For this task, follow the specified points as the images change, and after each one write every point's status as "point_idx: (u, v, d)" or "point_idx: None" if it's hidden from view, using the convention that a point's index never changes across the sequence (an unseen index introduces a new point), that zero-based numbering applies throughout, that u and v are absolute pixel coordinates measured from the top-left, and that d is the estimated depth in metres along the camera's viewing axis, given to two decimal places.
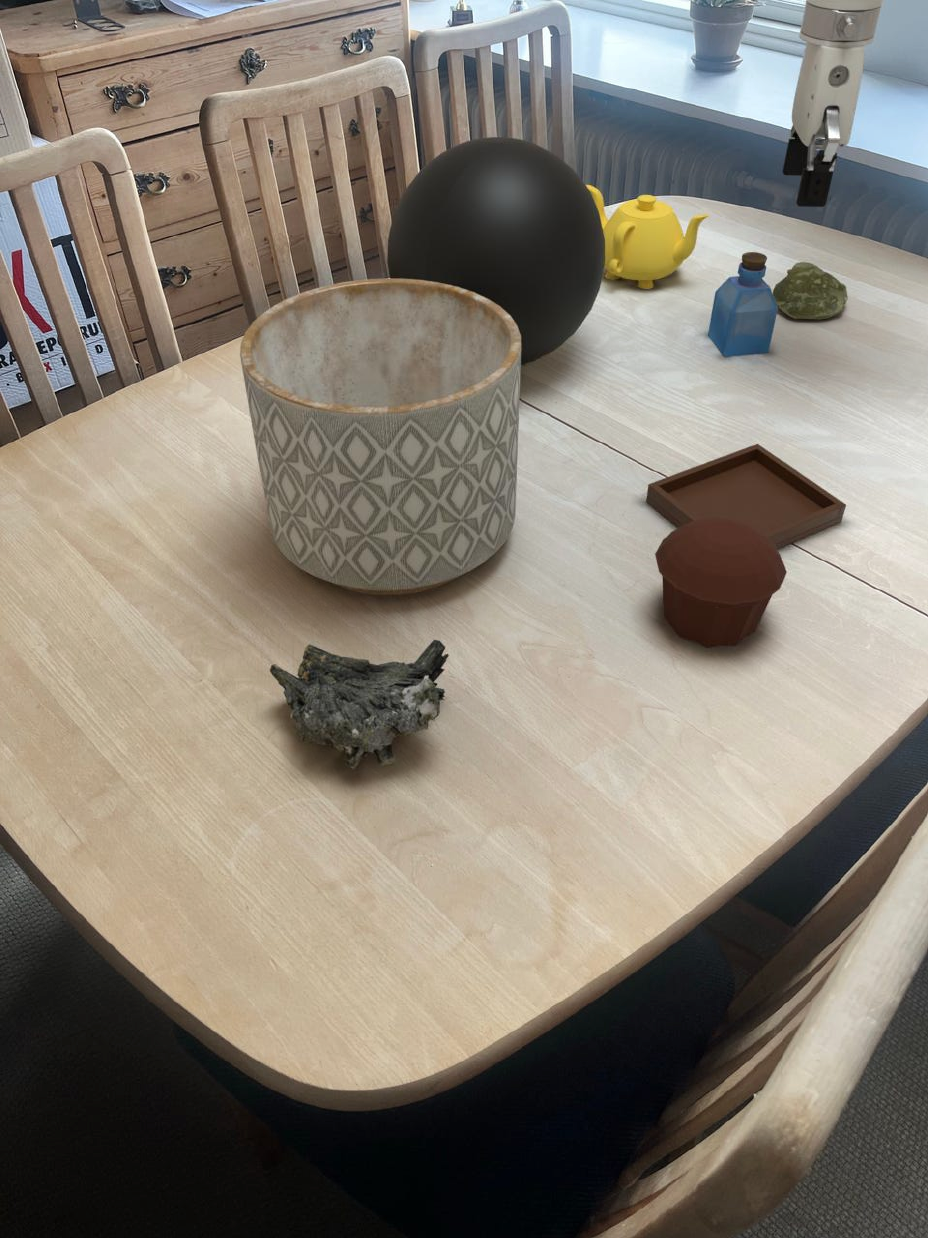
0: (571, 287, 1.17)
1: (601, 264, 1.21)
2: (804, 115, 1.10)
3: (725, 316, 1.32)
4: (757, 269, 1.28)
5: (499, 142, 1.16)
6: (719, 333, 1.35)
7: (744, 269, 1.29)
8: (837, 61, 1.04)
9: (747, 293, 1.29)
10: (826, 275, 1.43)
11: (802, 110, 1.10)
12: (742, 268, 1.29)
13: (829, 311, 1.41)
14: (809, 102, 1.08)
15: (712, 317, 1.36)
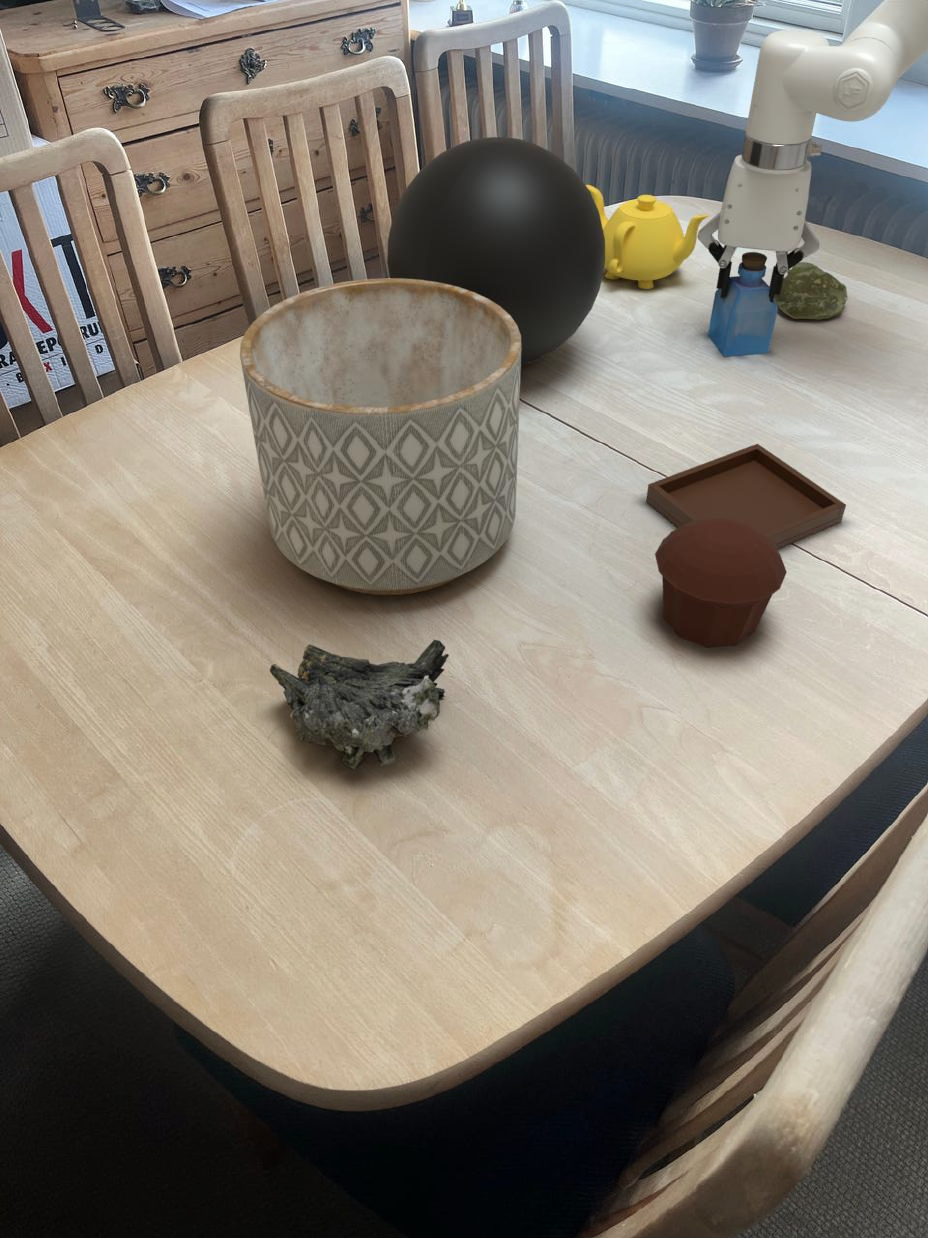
0: (571, 287, 1.17)
1: (601, 264, 1.21)
2: (785, 229, 1.23)
3: (725, 316, 1.32)
4: (757, 269, 1.28)
5: (499, 142, 1.16)
6: (719, 333, 1.35)
7: (744, 269, 1.29)
8: (810, 177, 1.20)
9: (747, 293, 1.29)
10: (826, 275, 1.43)
11: (776, 227, 1.23)
12: (742, 268, 1.29)
13: (829, 311, 1.41)
14: (793, 217, 1.22)
15: (712, 317, 1.36)
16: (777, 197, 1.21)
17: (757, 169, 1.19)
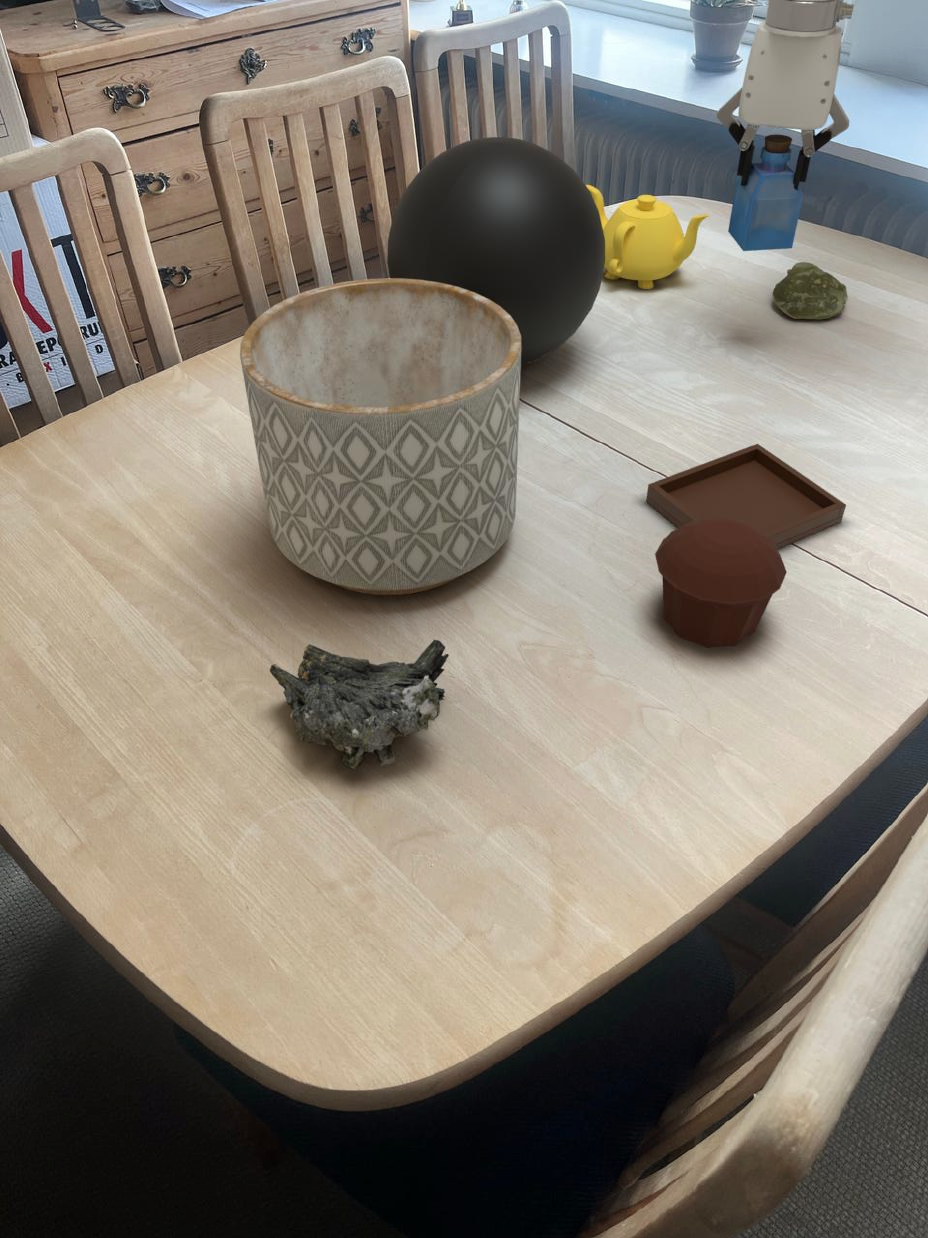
0: (571, 287, 1.17)
1: (601, 264, 1.21)
2: (812, 103, 1.13)
3: (745, 205, 1.22)
4: (781, 151, 1.19)
5: (499, 142, 1.16)
6: (739, 226, 1.25)
7: (767, 152, 1.19)
8: (839, 43, 1.10)
9: (769, 178, 1.20)
10: (826, 275, 1.43)
11: (802, 101, 1.13)
12: (765, 151, 1.19)
13: (829, 311, 1.41)
14: (820, 89, 1.12)
15: (733, 210, 1.27)
16: (803, 65, 1.11)
17: (781, 31, 1.09)
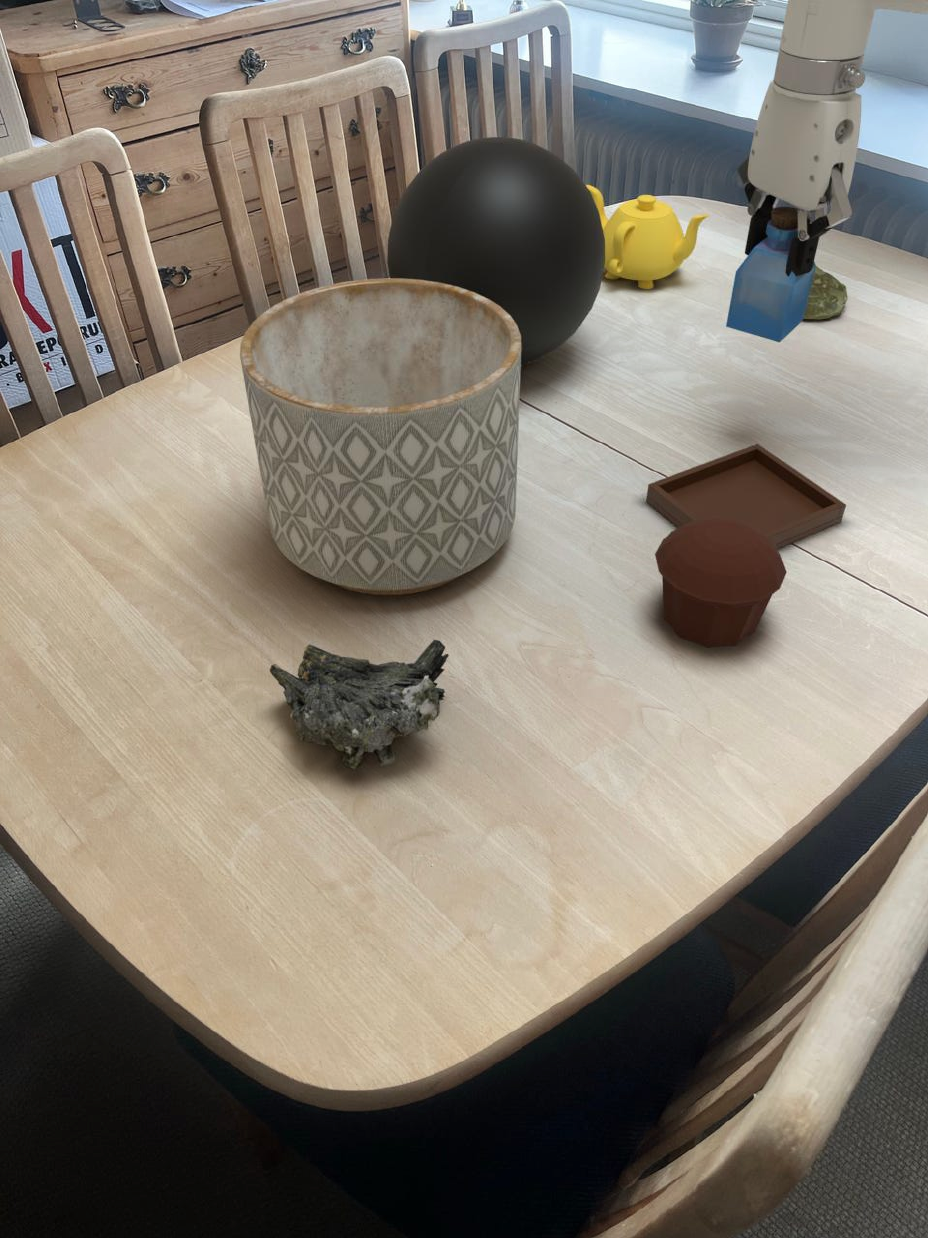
0: (571, 287, 1.17)
1: (601, 264, 1.21)
2: (802, 178, 0.96)
3: None
4: (780, 226, 1.02)
5: (499, 142, 1.16)
6: None
7: (769, 223, 1.03)
8: (842, 115, 0.92)
9: (761, 253, 1.04)
10: (826, 275, 1.43)
11: (793, 172, 0.97)
12: (769, 222, 1.03)
13: (829, 311, 1.41)
14: (809, 163, 0.95)
15: None
16: (795, 131, 0.94)
17: (774, 86, 0.94)
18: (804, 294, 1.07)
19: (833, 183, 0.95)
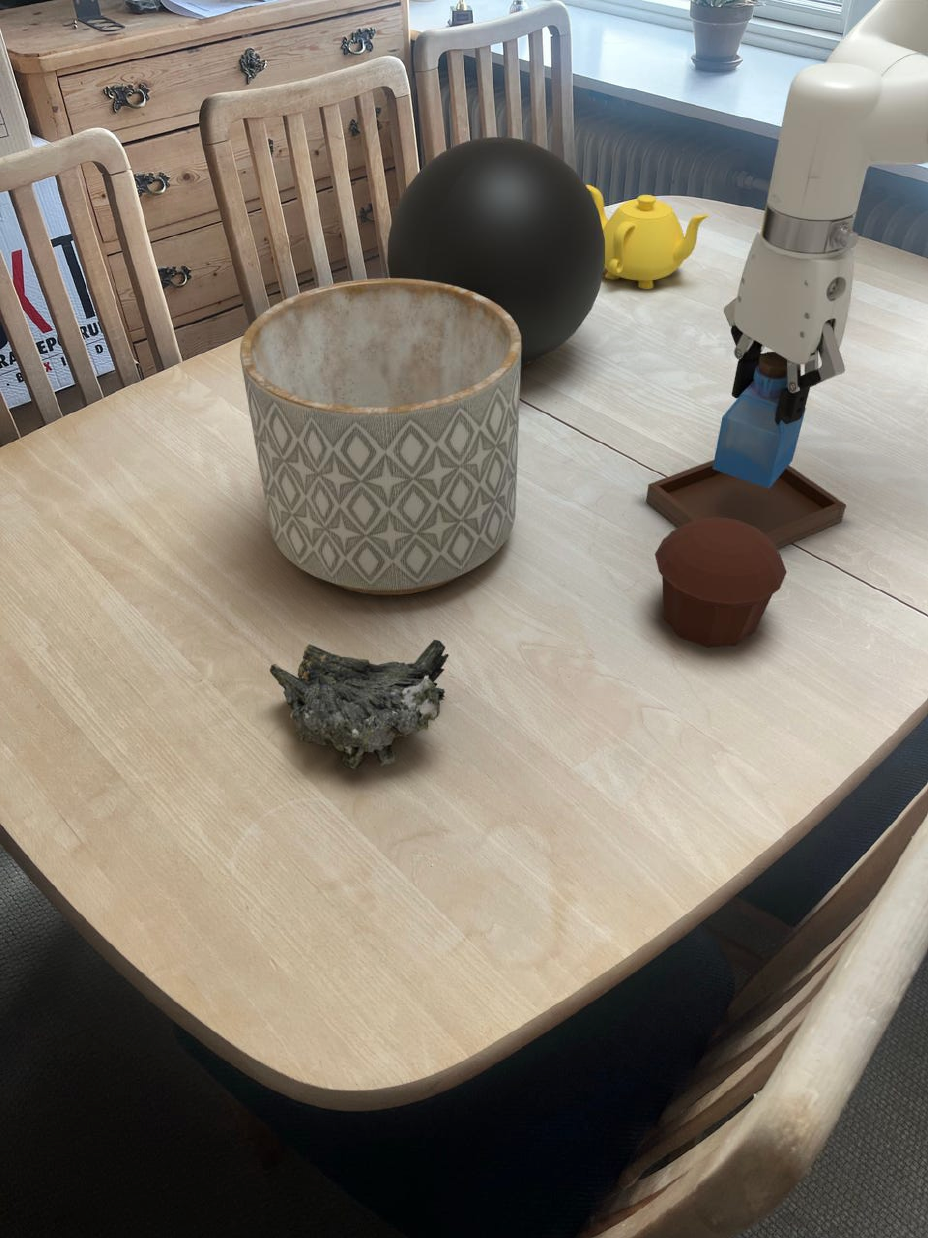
0: (571, 287, 1.17)
1: (601, 264, 1.21)
2: (791, 332, 0.91)
3: None
4: (768, 375, 0.97)
5: (499, 142, 1.16)
6: None
7: (757, 370, 0.98)
8: (834, 274, 0.87)
9: (749, 400, 0.99)
10: None
11: (782, 326, 0.92)
12: (757, 368, 0.98)
13: None
14: (800, 320, 0.90)
15: None
16: (784, 286, 0.89)
17: (761, 239, 0.89)
18: (794, 437, 1.02)
19: (825, 339, 0.90)
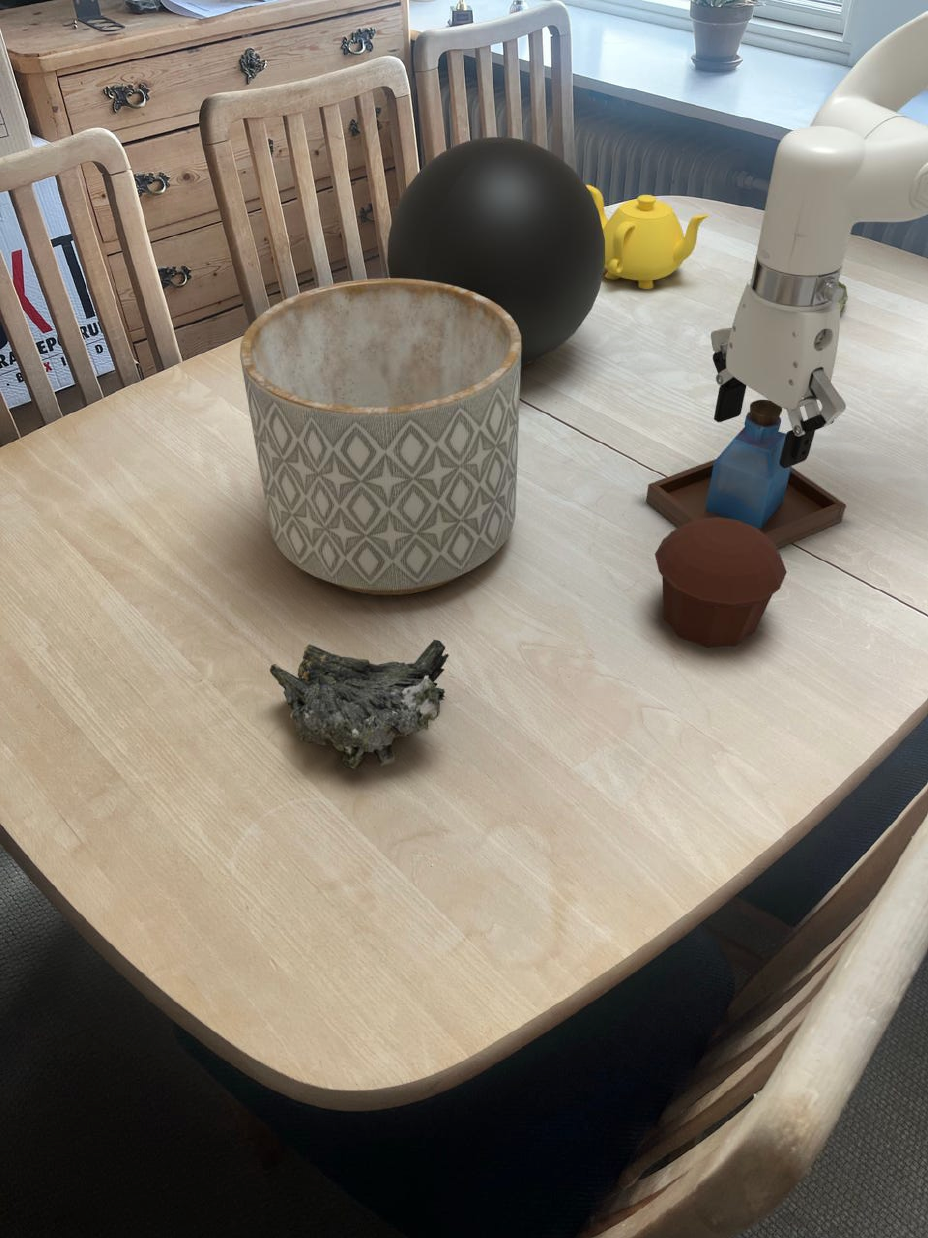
0: (571, 287, 1.17)
1: (601, 264, 1.21)
2: (780, 380, 0.94)
3: None
4: (758, 422, 1.00)
5: (499, 142, 1.16)
6: None
7: (748, 417, 1.02)
8: (821, 325, 0.90)
9: (740, 446, 1.02)
10: None
11: (772, 373, 0.95)
12: (748, 415, 1.02)
13: None
14: (788, 368, 0.93)
15: None
16: (773, 335, 0.93)
17: (751, 291, 0.92)
18: (784, 480, 1.06)
19: (818, 381, 0.93)
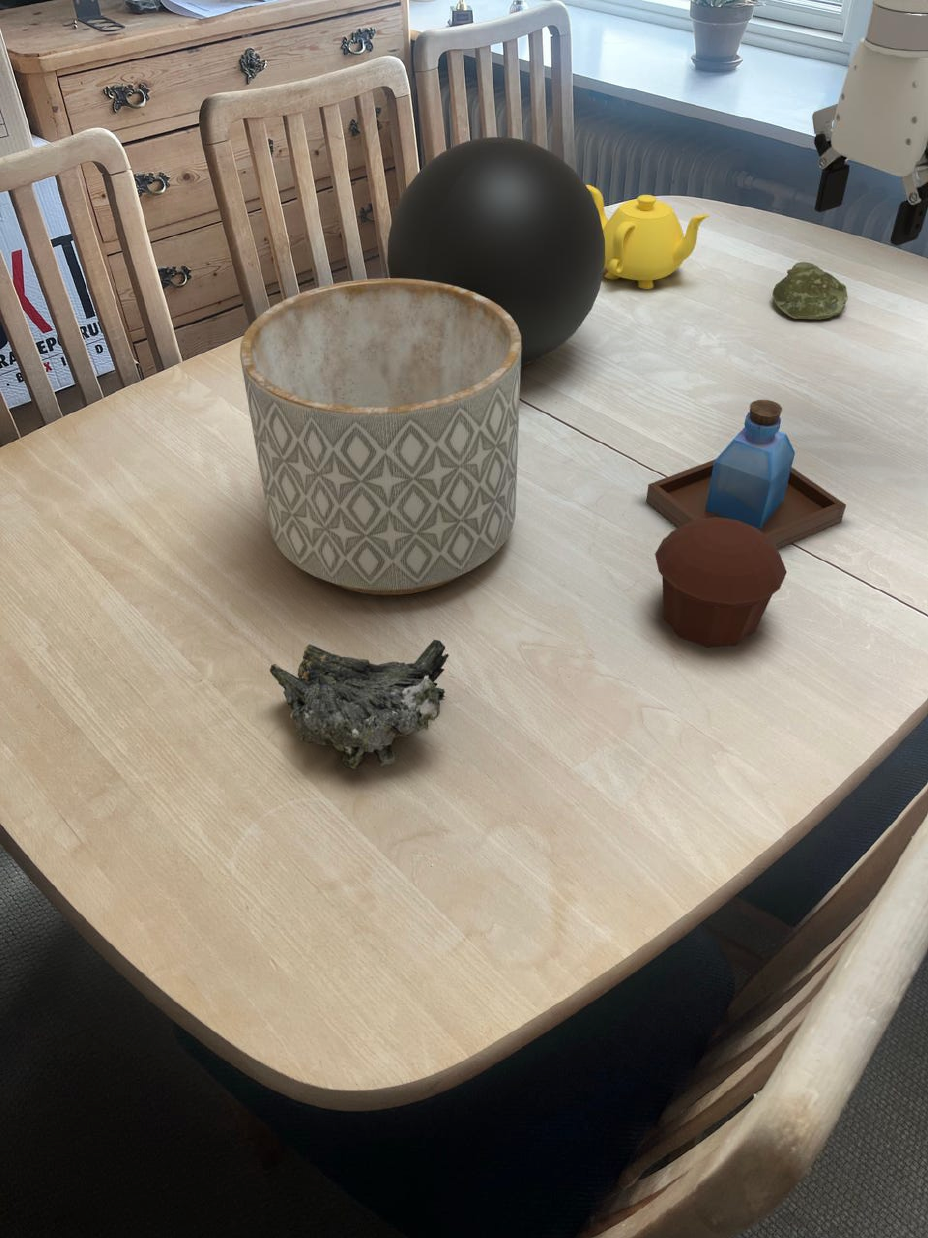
0: (571, 287, 1.17)
1: (601, 264, 1.21)
2: (896, 141, 0.90)
3: None
4: (758, 422, 1.00)
5: (499, 142, 1.16)
6: None
7: (748, 417, 1.02)
8: None
9: (740, 446, 1.02)
10: (826, 275, 1.43)
11: (886, 136, 0.91)
12: (748, 415, 1.02)
13: (829, 311, 1.41)
14: (906, 126, 0.89)
15: None
16: (890, 91, 0.89)
17: (867, 44, 0.88)
18: (784, 480, 1.06)
19: None
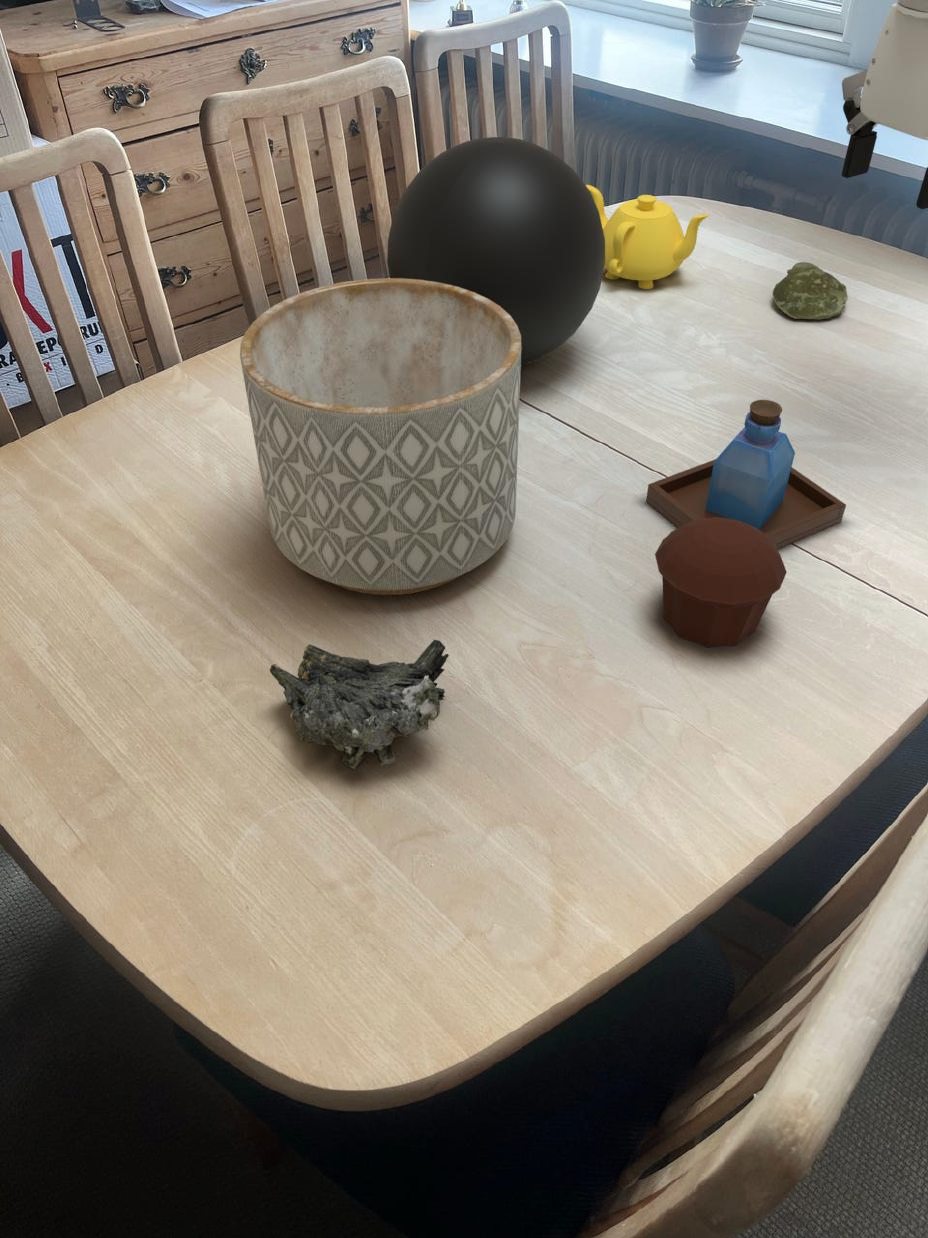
0: (571, 287, 1.17)
1: (601, 264, 1.21)
2: (925, 105, 0.93)
3: None
4: (758, 422, 1.00)
5: (499, 142, 1.16)
6: None
7: (748, 417, 1.02)
8: None
9: (740, 446, 1.02)
10: (826, 275, 1.43)
11: (915, 100, 0.93)
12: (748, 415, 1.02)
13: (829, 311, 1.41)
14: None
15: None
16: (921, 55, 0.91)
17: (899, 8, 0.90)
18: (784, 480, 1.06)
19: None
